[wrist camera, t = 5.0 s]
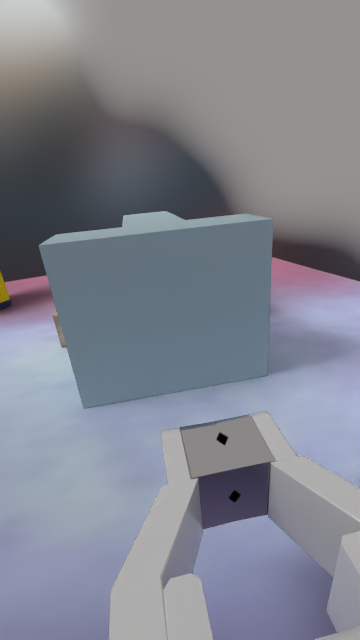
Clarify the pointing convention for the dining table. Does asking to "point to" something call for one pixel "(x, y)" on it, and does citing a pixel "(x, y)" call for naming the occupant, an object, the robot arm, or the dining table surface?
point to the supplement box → (3, 294)
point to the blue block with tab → (163, 303)
